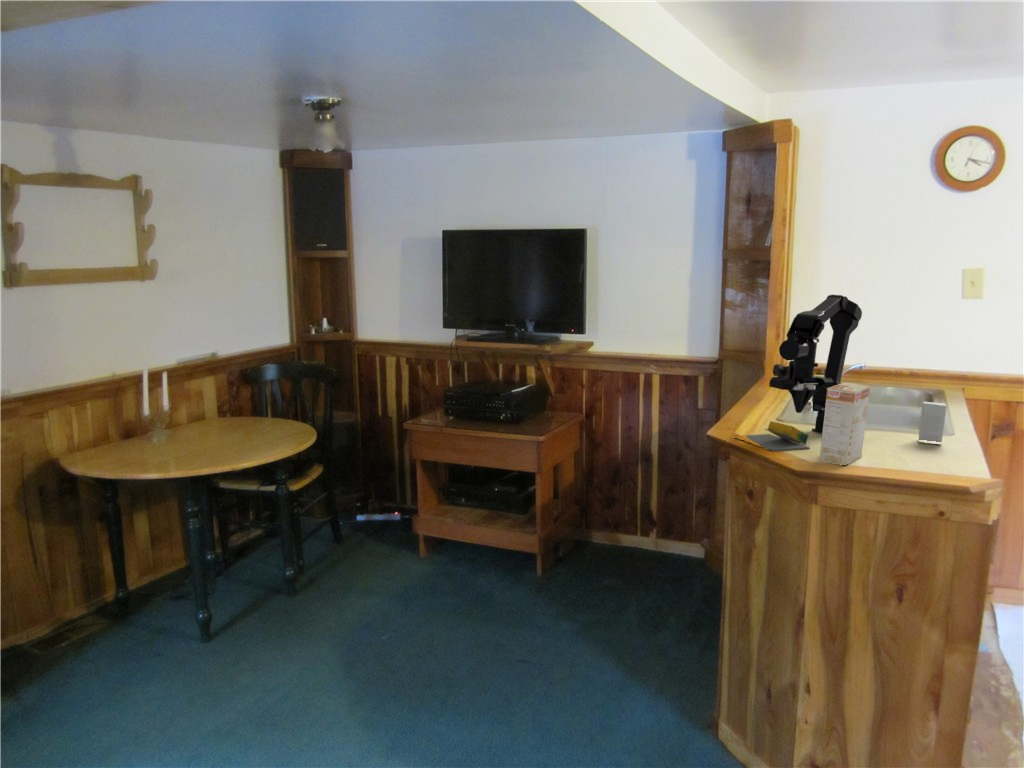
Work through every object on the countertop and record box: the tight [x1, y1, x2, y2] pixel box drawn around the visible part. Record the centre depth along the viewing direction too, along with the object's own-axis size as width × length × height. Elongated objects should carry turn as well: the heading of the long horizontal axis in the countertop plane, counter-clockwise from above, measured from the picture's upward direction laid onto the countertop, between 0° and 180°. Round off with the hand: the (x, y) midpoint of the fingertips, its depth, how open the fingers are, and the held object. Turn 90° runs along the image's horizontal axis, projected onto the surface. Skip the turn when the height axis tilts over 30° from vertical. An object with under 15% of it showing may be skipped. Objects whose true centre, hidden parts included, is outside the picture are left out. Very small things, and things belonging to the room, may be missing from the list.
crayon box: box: [764, 420, 809, 446], centre depth 217 cm, size 7×3×12 cm
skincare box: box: [918, 401, 947, 443], centre depth 228 cm, size 6×4×12 cm
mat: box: [744, 433, 810, 452], centre depth 218 cm, size 13×16×1 cm
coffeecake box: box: [818, 382, 871, 466], centre depth 202 cm, size 15×7×20 cm, turn 141°
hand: (798, 412), depth 220 cm, fingers closed
